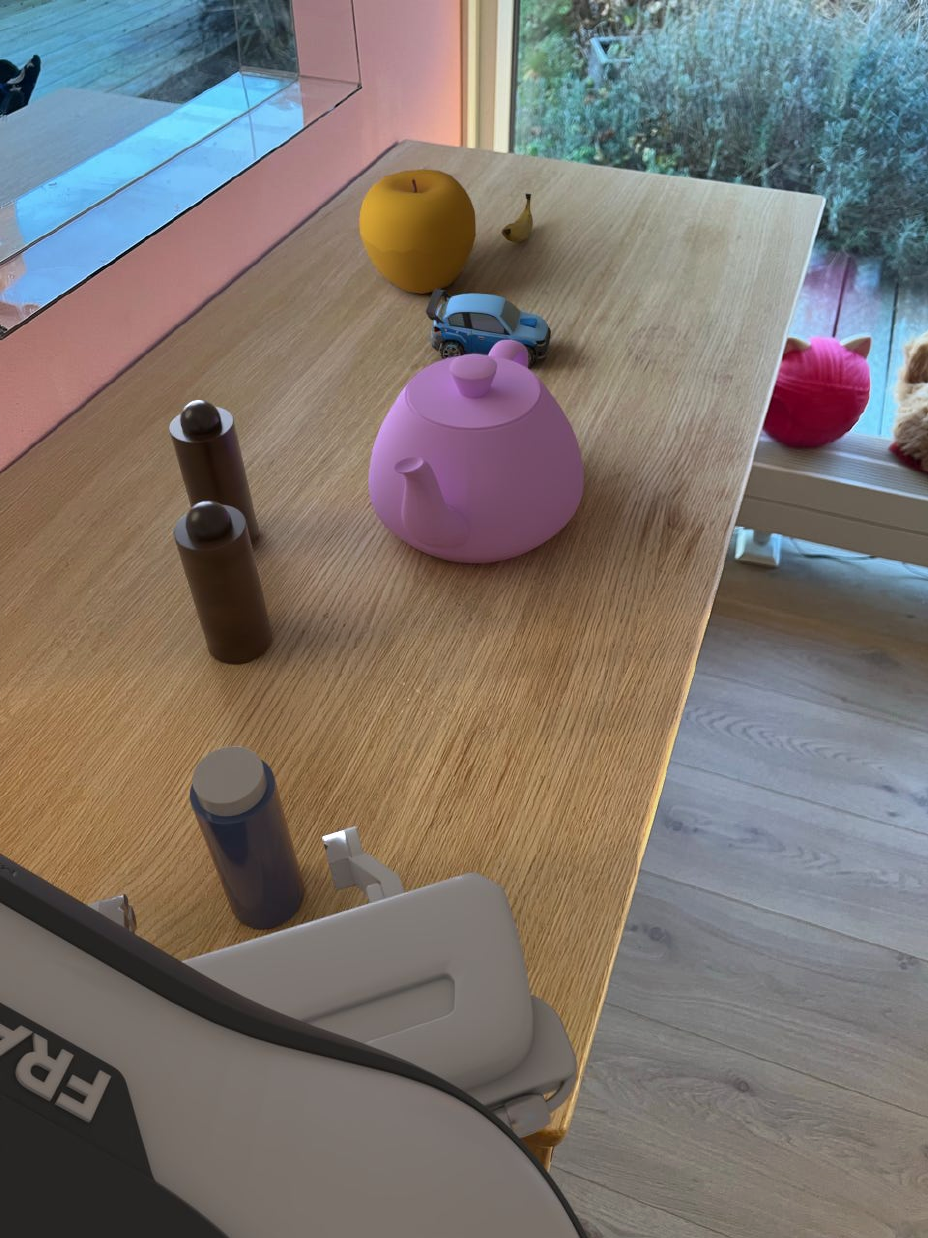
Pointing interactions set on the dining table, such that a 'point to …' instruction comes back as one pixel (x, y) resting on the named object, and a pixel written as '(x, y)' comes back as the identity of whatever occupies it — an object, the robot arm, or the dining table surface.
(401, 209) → the apple
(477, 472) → the teapot
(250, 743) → the dining table surface
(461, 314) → the toy car
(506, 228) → the banana
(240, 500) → the far mill
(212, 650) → the near mill
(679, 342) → the dining table surface
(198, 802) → the blue shaker
